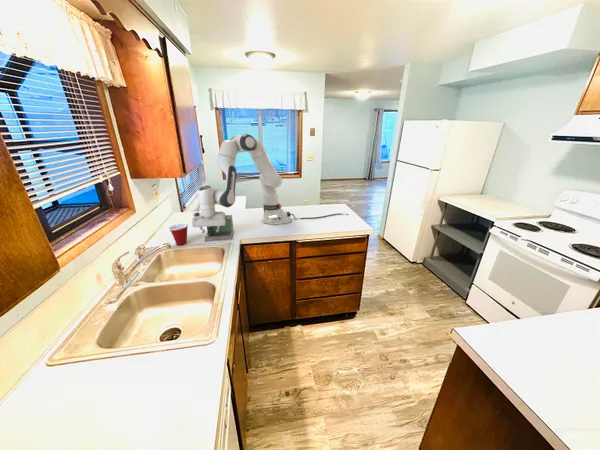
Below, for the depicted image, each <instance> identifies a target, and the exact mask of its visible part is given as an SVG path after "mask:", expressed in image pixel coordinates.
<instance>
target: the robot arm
mask: <svg viewBox="0 0 600 450" xmlns="http://www.w3.org/2000/svg"><path fill="white" fill-rule="evenodd" d="M247 152H248V153H249V155H250V157H251V159H252V161H253V163H254V166H255V168H256V169H257V171H258V172H259V175H258V179H259V181H260V185H261V189H262V195H263V203H262V205H263V206H262V210H263V217H262V222H263V223H264V224H268V225H271V226H273V225H281V224H282V225H283V224H289V223H291V221H292V219H291V218H290V217H291V216H293V219H295V220H297V218H296V216H295V214H293V213H291V212H290V211H286V210H284V209H283V208H282V207H283V206H282V204H280V203H279V194H278V191H277V188H279V187H281V186H282V184H283V178H282V176H281V175H280V174H279V173H278V171H277V170H276V168H275V166H274V165H273V164H272V161H271V160H270V157H269V155H268V153H267V150H266V149H265V147H264V145H263V144H262V142H261V141H260V140H259V139H258V138H255V137H254V136H253V135H251V134H248V133H244V134H238V135H236V136H233V137H232V138H230V139H225V140H223V141H222V142H221V145H220V147H219V150H218V154H217V158H216V165H217V167H218V169H219V170H220V171H221V172H222V173H224V175H225V186H224V187H225V188H224V189H223V190H222V189H219V188H216V187H213V186H211V185H203V186H200V187H199V188H198V190H197V191H198V192H197V197H198V198H197V199H198V203H199V209H196V210H194V211H193V212H192V217H191V225H192V227H193V228H199V230H200V231H201V234H205V233H206V229H204V228H205V227H206V228H207V226H217V227H218V229H219V227H220V226H224V225H225V224H226V220H225V215H226V213H225V212H224V211H216V207H215V205H218V206H222V207H224V208H230V207H232V206H233V205H234V204H235V202H236V183H237V168H236V159H237V156H238V153H247ZM341 213H342V212H341ZM341 213H339V212H338V213H332V214H327V215H322V216H316V217H300V218H299V220H304V219H306V220H307V219H310V220H311V219H320V218H326V217H331V216H336V215H342V214H341ZM346 215H347V216H349V214H348V213H347V214H346ZM203 227H204V228H203ZM218 229H216V232H219V230H218Z"/></svg>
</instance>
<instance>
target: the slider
mask: <svg viewBox="0 0 600 450" xmlns="http://www.w3.org/2000/svg"><path fill="white" fill-rule="evenodd" d="M208 235H213V228H208Z"/></svg>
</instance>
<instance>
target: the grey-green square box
mask: <svg viewBox="0 0 600 450" xmlns="http://www.w3.org/2000/svg"><path fill="white" fill-rule="evenodd" d="M225 220H226V224H225V225H224V226H220V227H219V229H218V227H217V226H206V232H207V233H206V234H205V236H204V240H205V242H215V241H216V242H218V241H231V240H232V238H233V234H234V221H233V214H225ZM208 228H213V235H208ZM216 229H218V230H219V232H216Z"/></svg>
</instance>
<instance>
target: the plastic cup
mask: <svg viewBox="0 0 600 450" xmlns="http://www.w3.org/2000/svg"><path fill="white" fill-rule="evenodd" d="M188 226H189V224H188V223H177V224H173V225H171V226H169V227H168V230H169V231H170V232H171V235H172V237H173V240H174V241H175V244H176V246H178V247H179V246H185V245H186V244H187V243H188Z"/></svg>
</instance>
